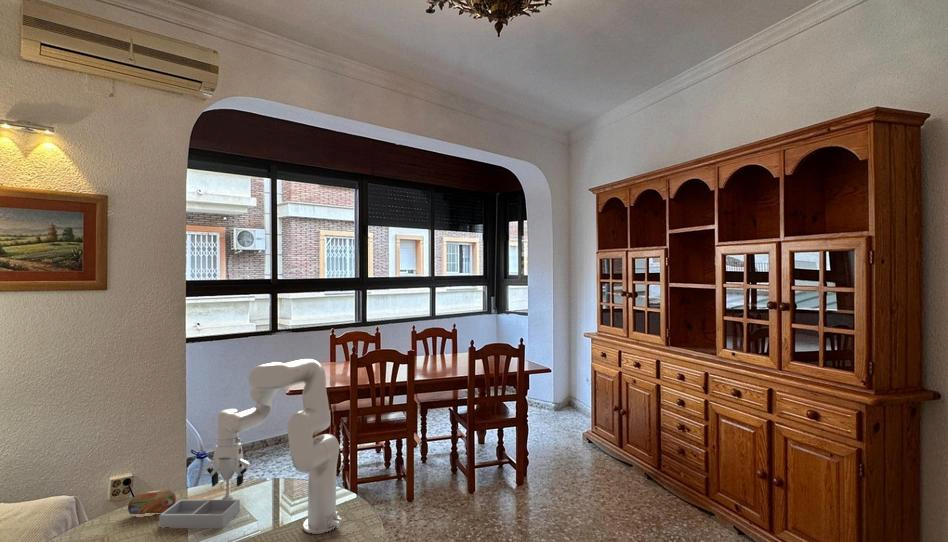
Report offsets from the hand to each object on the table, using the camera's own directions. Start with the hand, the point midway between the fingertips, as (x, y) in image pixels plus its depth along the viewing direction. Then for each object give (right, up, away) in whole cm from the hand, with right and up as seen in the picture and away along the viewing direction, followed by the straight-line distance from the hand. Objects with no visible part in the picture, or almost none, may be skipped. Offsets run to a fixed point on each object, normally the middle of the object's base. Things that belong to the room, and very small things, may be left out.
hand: (227, 484), depth 181 cm
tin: (-23, -7, -10) cm, 26 cm away
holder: (-2, -6, -14) cm, 15 cm away
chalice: (0, -7, 0) cm, 7 cm away
